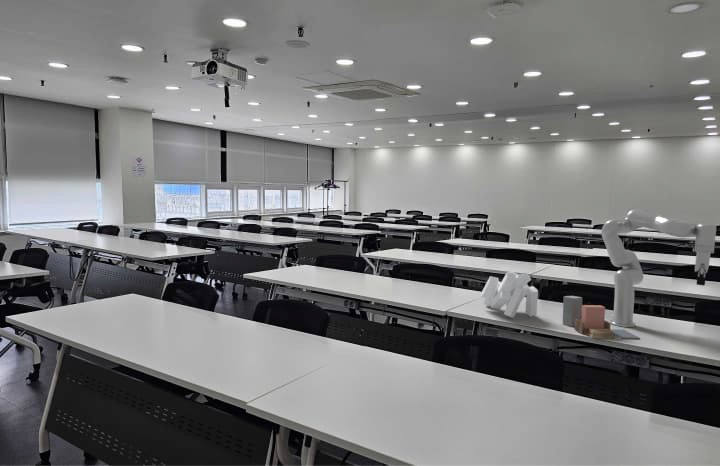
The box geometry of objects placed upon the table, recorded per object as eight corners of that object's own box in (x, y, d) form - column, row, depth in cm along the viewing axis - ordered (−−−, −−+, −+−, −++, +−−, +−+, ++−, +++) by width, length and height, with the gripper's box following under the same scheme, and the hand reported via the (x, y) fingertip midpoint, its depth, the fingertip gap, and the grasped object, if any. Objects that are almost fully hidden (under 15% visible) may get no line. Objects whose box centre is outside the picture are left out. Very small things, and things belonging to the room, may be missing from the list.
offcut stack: (587, 335, 230) (588, 328, 229) (608, 335, 230) (609, 328, 230) (591, 337, 226) (592, 330, 225) (613, 338, 226) (613, 331, 226)
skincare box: (572, 327, 245) (573, 298, 243) (560, 323, 251) (562, 296, 250) (582, 325, 249) (584, 297, 247) (571, 322, 255) (572, 294, 254)
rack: (574, 329, 239) (575, 318, 239) (602, 330, 239) (603, 319, 239) (581, 333, 232) (581, 322, 232) (609, 334, 232) (610, 323, 232)
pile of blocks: (467, 318, 278) (475, 274, 259) (488, 293, 298) (496, 250, 279) (522, 344, 260) (535, 298, 241) (540, 316, 280) (553, 272, 261)
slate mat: (606, 330, 239) (606, 329, 239) (623, 331, 239) (623, 329, 239) (622, 339, 225) (622, 337, 225) (639, 339, 225) (640, 337, 225)
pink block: (580, 330, 238) (582, 305, 237) (599, 331, 238) (600, 305, 237) (584, 333, 234) (586, 306, 233) (603, 333, 234) (605, 307, 233)
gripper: (694, 246, 227) (691, 280, 229) (694, 249, 213) (690, 285, 215) (713, 248, 222) (710, 282, 224) (714, 251, 209) (710, 287, 210)
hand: (700, 283), depth 219 cm, fingers open, 9 cm apart
